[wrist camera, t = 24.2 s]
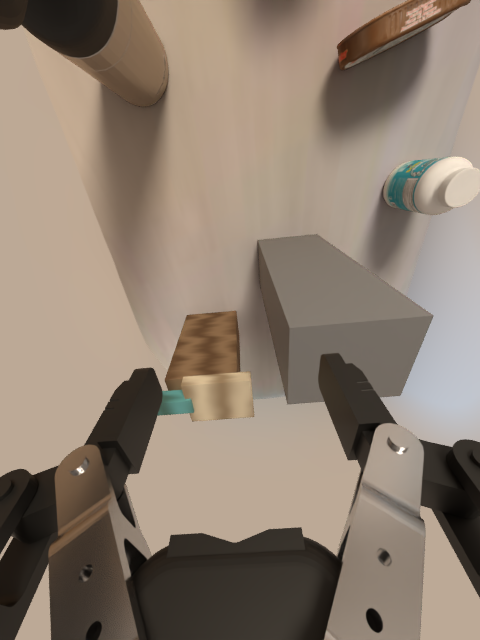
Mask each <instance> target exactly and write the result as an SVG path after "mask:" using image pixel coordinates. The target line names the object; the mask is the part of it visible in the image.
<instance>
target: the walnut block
mask: <svg viewBox="0 0 480 640" xmlns="http://www.w3.org/2000/svg"><path fill="white" fill-rule="evenodd" d="M237 372H240V344H239V330H238V322H237V313H236V311H229V312H218V313H206V314H195V315H187V317H186V320H185V323H184V326H183V328H182V331H181V334H180V337H179V340H178V343H177V346H176V349H175V352H174V355H173V357H172V360H171V363H170V366H169V369H168V372H167V375H166V378H165V382H166V385H167V388H168V391H172V390H182V388H181V383H182V380H183V377H187V376H199V375H212V374H225V373H237Z"/></svg>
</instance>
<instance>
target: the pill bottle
mask: <svg viewBox="0 0 480 640" xmlns="http://www.w3.org/2000/svg"><path fill="white" fill-rule="evenodd" d="M479 191H480V170H479V169H477V168H473V166H472V164H471V163H470V162H469V161H468V160H467V159H465V158H462V157H446V158H437V159H426V160H415V161H409V162H405V163H403V164H401V165H400V166H398V167H397V168H396V169H394V170H393V172H392V173H391V174H390V175H389V177H388V178H387V180H386V183H385V185H384V191H383V195H384V199H385V201H386V203H387V204H388V205H389V206H391V207H393V208H397V209H402V210H408V211H413V212H418V213H423V214H428V215H438V214H442V213H445V212H447V211H449V210H451V209H453V208H458V207H461V206H464V205H466V204H467V203H469V202H470V201H472V200H473V199H474V198H475V197H476V195H477V194H478V193H479Z"/></svg>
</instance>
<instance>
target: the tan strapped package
mask: <svg viewBox="0 0 480 640" xmlns="http://www.w3.org/2000/svg"><path fill="white" fill-rule="evenodd" d="M181 388H182V390H172V391H162V393H163V397H162V403H161V406H160V409H159V412H158V415H171V414H184V413H190V416H191V419H192V421H205V420H218V419H232V418H246V417H254V408H253V397H252V386H251V375H250V372H237V373H225V374H212V375H199V376H187V377H183V380H182V383H181Z"/></svg>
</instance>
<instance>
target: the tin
mask: <svg viewBox="0 0 480 640" xmlns="http://www.w3.org/2000/svg"><path fill="white" fill-rule="evenodd" d="M470 1H471V0H407V1H405V2H404V3H402V4H400V5H398V6H396V7H394V8H392V9H390V10H388V11H386V12H384V13H383V14H381V15H379V16H378V17H376V18H374V19H372V20H371V21H369V22H368V23H366V24H364V25H363V26H361V27H360V28H358V29H357V30H355V31H354V32H353V33H351V34H350V35H348V36H347V37H346V38H345V39H343V40H342V41H341V42H340V43H339V44H338V45H337V49H338V56H339V66H340V69H341V70H345V69H348V68H350V67H352V66H354V65H357V64H359V63H361V62H363V61H365V60H367V59H369V58H371V57H373V56H375V55H377V54H379V53H382V52H384V51H386V50H388V49H390V48H392V47H394V46H396V45H398V44H399V43H401V42H403V41H405V40H407V39H409V38H411V37H413V36H415V35H417V34H419V33H420V32H422V31H424V30H426V29H428V28H430V27H431V26H433V25H435V24H437V23H438V22H440V21H442V20H443V19H445V18H446V17H448V16H449V15H450V14H451V13H452V12H454V11H455V10H457V9H458V8H460V7H462V6H465V5H467V4H469V3H470Z"/></svg>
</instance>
